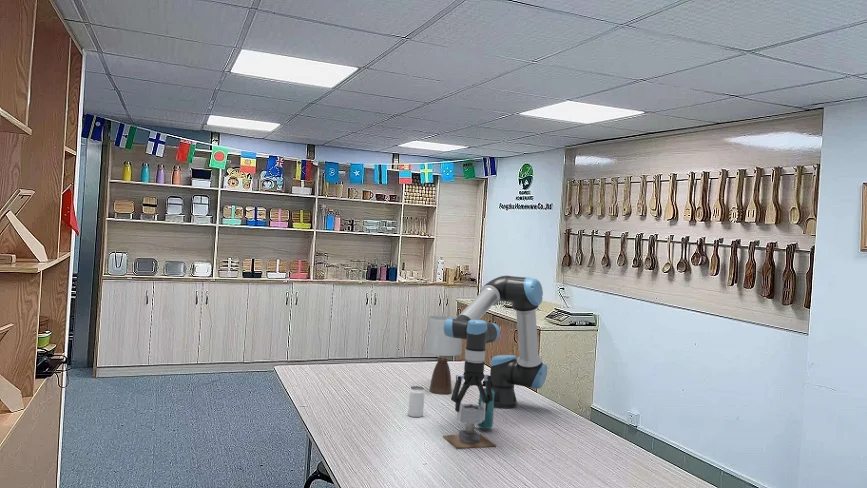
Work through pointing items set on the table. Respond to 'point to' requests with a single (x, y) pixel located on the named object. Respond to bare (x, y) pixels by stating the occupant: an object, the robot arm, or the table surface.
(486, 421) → the beverage bottle
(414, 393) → the can
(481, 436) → the peg on square base
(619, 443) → the table surface
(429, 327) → the lamp
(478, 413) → the hub
